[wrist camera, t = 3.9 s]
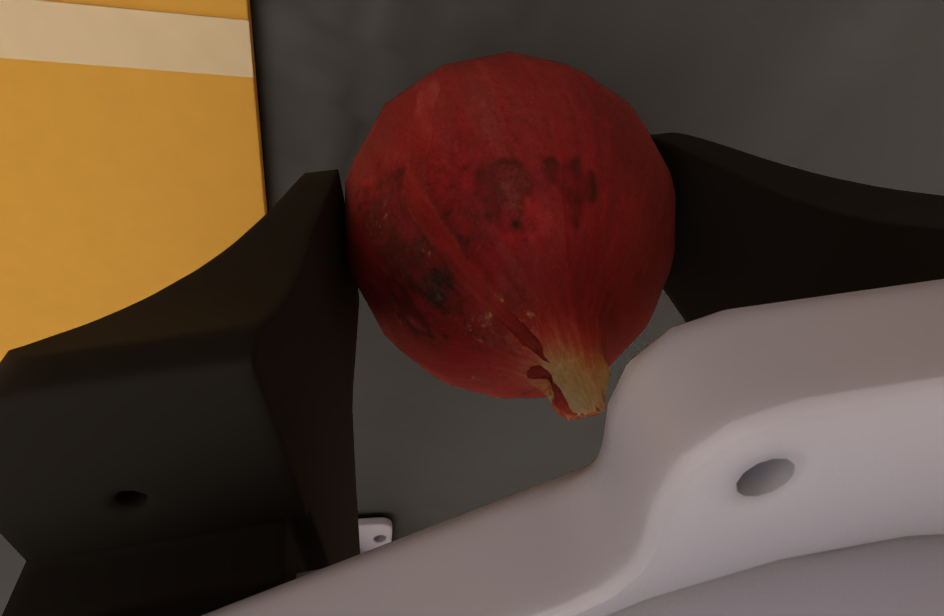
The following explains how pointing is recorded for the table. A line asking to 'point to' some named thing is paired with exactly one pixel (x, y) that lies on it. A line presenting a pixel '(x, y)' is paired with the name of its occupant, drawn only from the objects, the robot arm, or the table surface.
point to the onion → (511, 228)
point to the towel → (120, 153)
